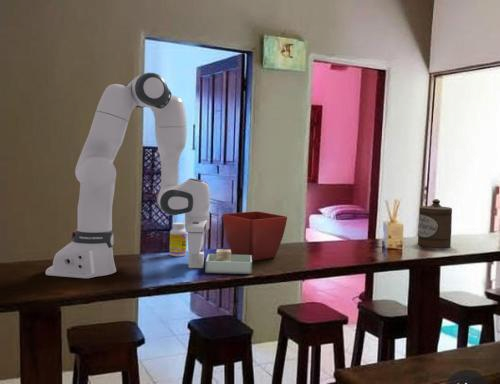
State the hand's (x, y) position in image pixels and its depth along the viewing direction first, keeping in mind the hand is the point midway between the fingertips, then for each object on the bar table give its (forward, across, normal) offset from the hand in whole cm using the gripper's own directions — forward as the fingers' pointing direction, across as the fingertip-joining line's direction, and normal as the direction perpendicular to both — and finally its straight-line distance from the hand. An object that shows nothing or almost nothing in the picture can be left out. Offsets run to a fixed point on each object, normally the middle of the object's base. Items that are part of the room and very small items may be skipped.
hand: (196, 261), depth 191 cm
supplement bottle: (+2, -19, -9) cm, 21 cm away
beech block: (+1, +3, +10) cm, 10 cm away
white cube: (+2, 0, 0) cm, 2 cm away
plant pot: (+2, -20, +21) cm, 29 cm away
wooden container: (+2, -60, +108) cm, 124 cm away
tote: (+2, +3, +12) cm, 12 cm away
